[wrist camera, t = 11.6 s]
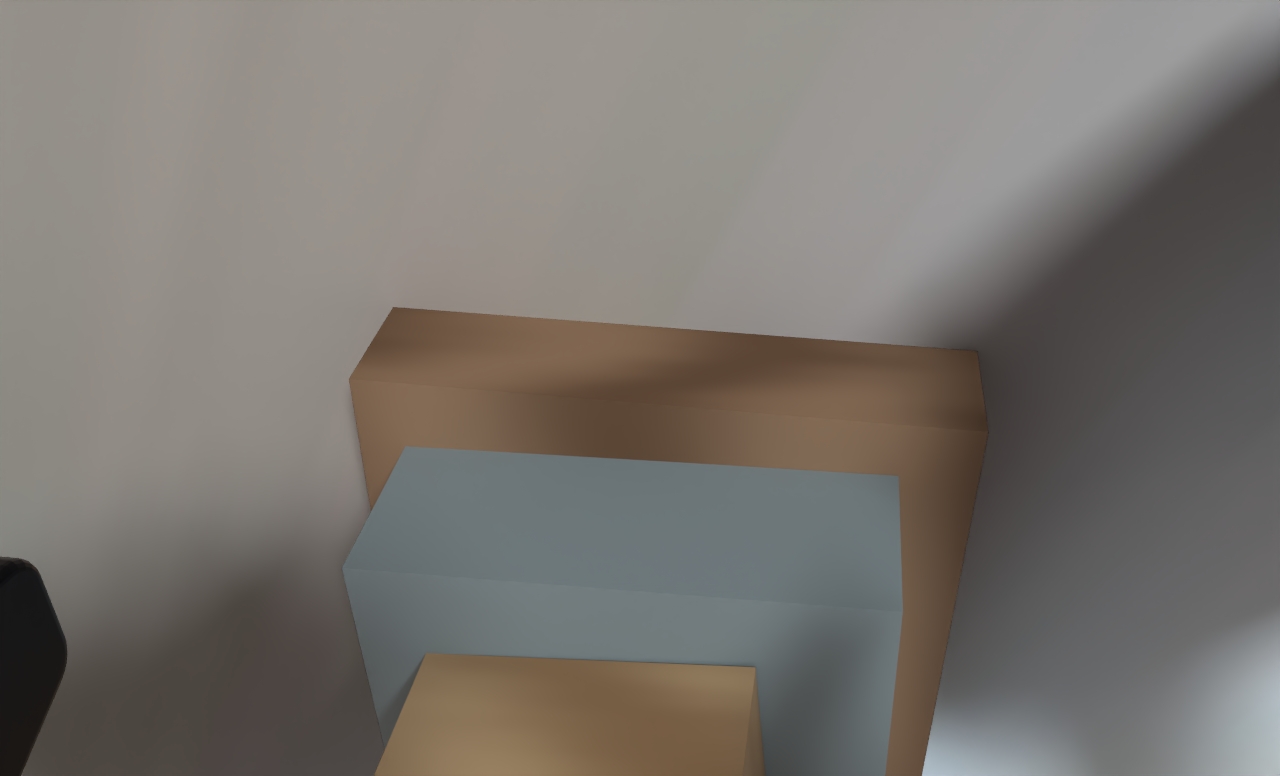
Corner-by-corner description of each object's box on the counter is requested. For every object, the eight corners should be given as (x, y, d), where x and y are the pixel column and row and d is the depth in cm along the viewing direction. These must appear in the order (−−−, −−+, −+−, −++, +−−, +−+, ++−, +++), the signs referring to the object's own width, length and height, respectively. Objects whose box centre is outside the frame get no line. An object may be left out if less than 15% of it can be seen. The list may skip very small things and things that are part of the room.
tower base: (973, 327, 21) (988, 432, 18) (904, 721, 26) (908, 841, 24) (405, 286, 22) (349, 379, 20) (455, 671, 28) (416, 780, 25)
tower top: (898, 475, 19) (902, 611, 17) (867, 805, 23) (866, 950, 21) (405, 445, 20) (341, 568, 18) (464, 763, 25) (419, 897, 22)
